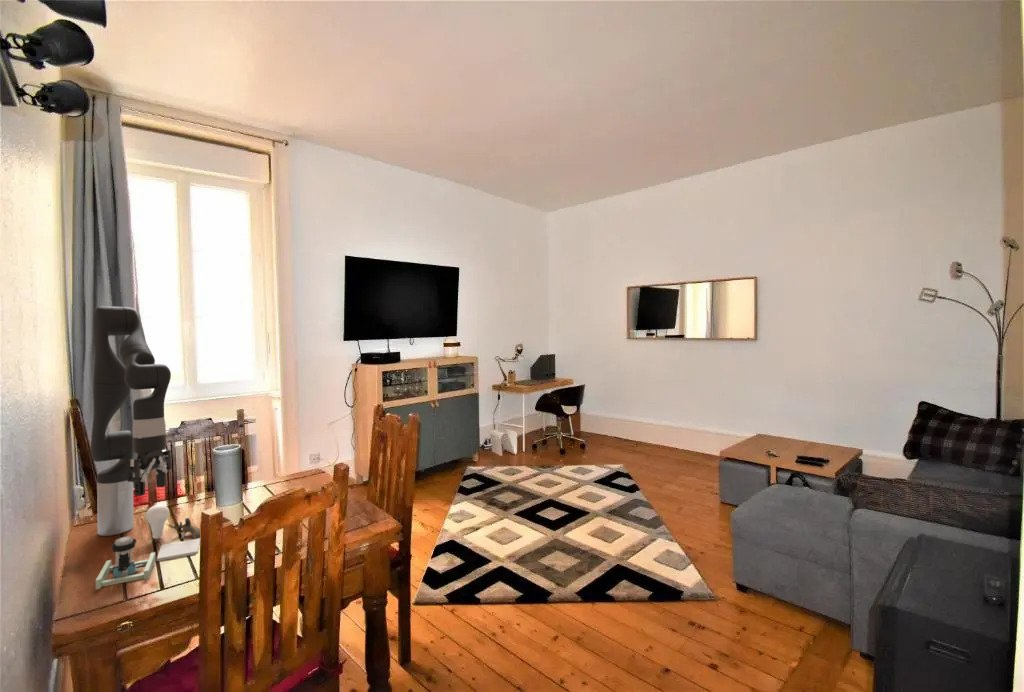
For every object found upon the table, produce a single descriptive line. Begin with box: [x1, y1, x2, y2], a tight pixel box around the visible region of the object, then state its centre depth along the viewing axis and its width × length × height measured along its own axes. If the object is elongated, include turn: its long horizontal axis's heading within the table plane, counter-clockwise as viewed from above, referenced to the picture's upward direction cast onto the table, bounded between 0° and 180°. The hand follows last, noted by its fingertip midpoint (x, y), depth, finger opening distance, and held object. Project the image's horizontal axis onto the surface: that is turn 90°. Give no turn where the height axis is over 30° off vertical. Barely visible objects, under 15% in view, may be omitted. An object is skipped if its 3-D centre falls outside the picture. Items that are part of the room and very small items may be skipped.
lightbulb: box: [145, 504, 170, 540], centre depth 153 cm, size 6×6×11 cm
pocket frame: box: [95, 551, 156, 590], centre depth 131 cm, size 12×11×2 cm
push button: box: [110, 536, 143, 579], centre depth 131 cm, size 7×5×10 cm
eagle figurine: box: [168, 517, 201, 539], centre depth 155 cm, size 8×7×9 cm
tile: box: [156, 538, 201, 562], centre depth 145 cm, size 10×10×1 cm
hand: (150, 491), depth 135 cm, fingers open, 8 cm apart
